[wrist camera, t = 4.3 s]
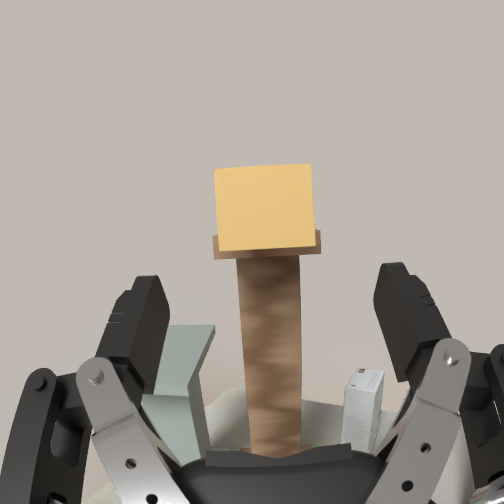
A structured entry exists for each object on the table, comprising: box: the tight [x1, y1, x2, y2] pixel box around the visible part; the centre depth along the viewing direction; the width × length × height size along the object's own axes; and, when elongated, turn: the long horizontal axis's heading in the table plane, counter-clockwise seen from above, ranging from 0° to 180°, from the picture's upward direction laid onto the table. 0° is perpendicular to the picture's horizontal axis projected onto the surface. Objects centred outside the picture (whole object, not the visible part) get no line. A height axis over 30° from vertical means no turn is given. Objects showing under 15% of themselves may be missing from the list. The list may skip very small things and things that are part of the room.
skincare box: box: [340, 369, 384, 454], centre depth 37 cm, size 6×4×12 cm
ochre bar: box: [214, 164, 316, 251], centre depth 22 cm, size 4×22×3 cm, turn 178°
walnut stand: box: [213, 229, 321, 458], centre depth 29 cm, size 10×14×32 cm
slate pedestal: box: [142, 325, 230, 466], centre depth 30 cm, size 8×14×21 cm, turn 178°
